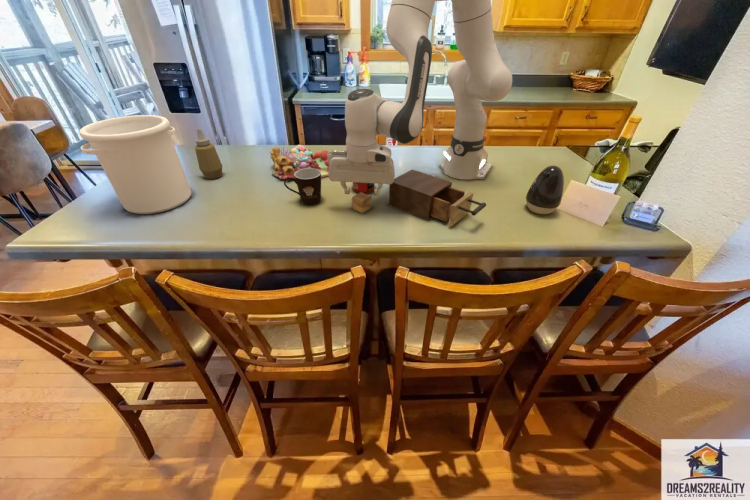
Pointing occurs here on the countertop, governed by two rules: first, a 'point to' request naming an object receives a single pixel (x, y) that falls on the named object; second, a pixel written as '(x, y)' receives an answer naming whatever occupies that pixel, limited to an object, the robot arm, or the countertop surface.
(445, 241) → the countertop surface
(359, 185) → the canned food
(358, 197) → the block
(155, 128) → the bucket
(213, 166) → the squeeze bottle
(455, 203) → the drawer
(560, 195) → the dark egg ornament
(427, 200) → the cabinet
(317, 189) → the coffee mug
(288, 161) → the candy landscape model
